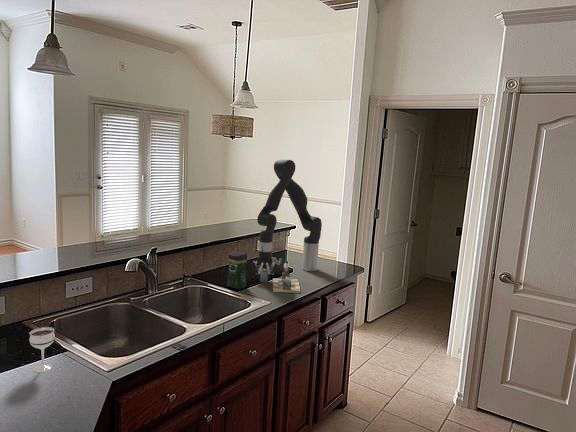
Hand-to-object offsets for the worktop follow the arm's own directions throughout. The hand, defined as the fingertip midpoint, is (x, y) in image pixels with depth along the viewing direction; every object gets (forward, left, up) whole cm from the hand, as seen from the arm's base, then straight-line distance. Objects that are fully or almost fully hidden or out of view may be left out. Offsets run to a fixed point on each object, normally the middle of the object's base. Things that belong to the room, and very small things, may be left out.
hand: (263, 279), depth 229 cm
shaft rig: (+7, +12, -1) cm, 14 cm away
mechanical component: (-14, +5, -1) cm, 15 cm away
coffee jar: (+11, -14, -1) cm, 18 cm away
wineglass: (+98, -67, -1) cm, 119 cm away
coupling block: (0, 0, -1) cm, 1 cm away
